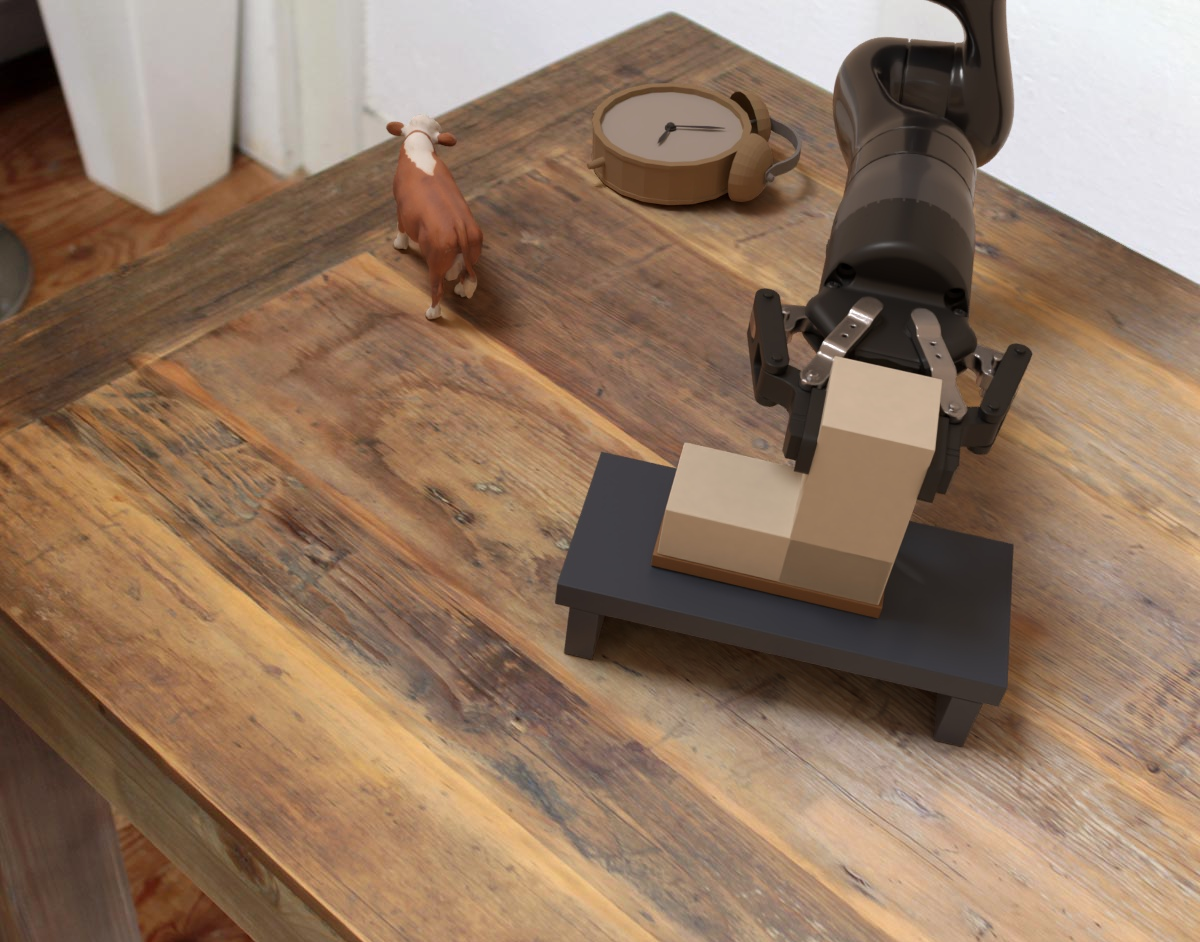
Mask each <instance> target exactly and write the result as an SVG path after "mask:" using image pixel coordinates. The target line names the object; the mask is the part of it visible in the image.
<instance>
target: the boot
mask: <svg viewBox="0 0 1200 942" xmlns="http://www.w3.org/2000/svg"><path fill="white" fill-rule="evenodd" d="M825 390H826V391H827V392H826V398H825V403H824V408H823V414H822V419H821V424H820V430H819V435H818V440H817V446H816V450H815V454H814V457H813V461H812V464H811V468H810V471H809V474H808V475H807V474H803V473H798V472H794V466H791V465H787V464H783V463H778V462H774V461H770V460H769V461H768V460H766V459H761V458H757V457H753V456H748V455H743V454H739V453H734V452H731V451H726V450H721V449H716V448H712V447H708V446H704V445H699V444H695V443H690V442H686V441H685V442H683V446H682V450H681V452H680V457H679V460H678V464H677V467H676V468H677V470H676V474H675V478H674V481H673V485H672V487H671V491H670V495H669V498H668V502H667V505H666V509H665V512H664V516H663V520H662V523H661V527H660V530H659V534H658V537H657V541H656V545H655V548H654V552H653V556H652V561H651V565H652V566H656V567H660V568H664V569H669V570H673V571H677V572H681V573H686V574H690V575H694V576H698V577H703V578H707V579H711V580H716V581H720V582H724V583H728V584H733V585H737V586H741V587H745V588H750V589H754V590H758V591H762V592H767V593H771V594H775V595H780V596H784V597H788V598H792V599H797V600H801V601H805V602H809V603H814V604H818V605H822V606H826V607H831V608H835V609H839V610H844V611H848V612H852V613H856V614H861V615H865V616H869V617H873V618H879V615H880V613H881V610H882V606H883V598H884V590H885V586H886V583H887V581H888V578H889V575H890V572H891V570H892V567H893V564H894V562H895V559H896V556H897V553H898V551H899V548H900V545H901V542H902V540H903V537H904V534H905V531H906V529H907V526H908V523H909V521H911V518H912V515H913V513H914V512H913V511H914V509H915V506H916V503H917V502H918V500H917V497H918V494H919V492H920V489H921V486H922V484H923V481H924V478H925V475H926V473H927V470H928V467H929V466H930V463H931V461H932V458H933V455H934V452H935V447H936V437H937V428H938V418H939V409H940V399H941V390H942V380H941V379H936V378H932V377H927V376H923V375H918V374H914V373H909V372H905V371H900V370H896V369H891V368H887V367H882V366H878V365H873V364H869V363H864V362H860V361H855V360H851V359H846V358H842V357H837V356H835V357H834V361H833V364H832V368H831V372H830V377H829V380H828V383H827V386H826V389H825Z"/></svg>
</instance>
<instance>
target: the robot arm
mask: <svg viewBox="0 0 1200 942" xmlns="http://www.w3.org/2000/svg"><path fill="white" fill-rule="evenodd" d="M925 1H926V2H928V3H931V4H934V5H935V4H936V5H937V6H940V7H941V8H944V9H946V10H947V11H949V12H951V14H953V16H954V17H955V18H956V19H957V20H958V22H959V23H960V25H961V28H962V31H963V32H962V33H963V41H961V42H960V41H959V42H955V41H942V40H932V39H931V40H930V39H917V38H911V39H910V40H909V38H908V37H907V38H906V37H897V36H896V37H894V36H881V37H874V38H870V39H867V40H865V41H863V42H861V43H860V44H858V45H856V47H854V48H853V49H852V50H851V51H850V52H848V55H846V57H845V58H844V60H843V61H842V63H841V65H840V66H839V69H838V71H837V74H836V77H835V81H834V86H833V93H832V94H833V95H832V118H833V124H834V130H835V135H836V139H837V143H838V146H839V148H840V152H841V154H842V157H843V159H844V162H845V164H846V168H847V175H846V180H845V186H844V190H843V195H842V199H841V201H840V203H839V206H838V208H837V210H836V211H835V214H834V218H833V221H832V222H833V223H832V225H831V229H830V234H829V238H828V240H827V242H826V244H825V245H826V246H825V259H824V263H823V268H822V273H821V278H820V282H819V288H818V293H816V294H815V295H814V296H813V297H810V299H809V300H808V302H807V303H806V305H800V304H799V305H798V304H797V305H796V304H784V303H782V301H781V296H780V294H779V293H778V292H777V291H776V290H775V289H772V288H767V287H765V288H759V289H758V290H756V291H755V295H754V299H753V303H752V307H751V312H750V317H749V322H748V326H747V332H746V338H747V347H748V348H747V349H748V356H749V364H750V372H751V380H752V388H753V395H754V400H755V402H756V403H757V404H758V405H760V406H763V407H767V408H771V407H776V406H778V405H779V406H781V407H782V408H783V409H785V410H786V411H787V413H788V420H787V425H786V430H785V435H784V440H783V445H782V449H781V451H782V454H783V456H784V458H785V459H786V460H787V459H788V460H790V461H795V462H794V466H793V467H794V472H798V473H803V474H807V475H808V474H809V471H810V468H811V464H812V461H813V457H814V454H815V450H816V446H817V440H818V435H819V430H820V424H821V419H822V414H823V408H824V403H825V398H826V392H827V391H826V390H825V389H826V386H827V383H828V380H829V377H830V372H831V368H832V364H833V361H834V357H835V356H837V357H842V358H846V359H851V360H855V361H860V362H864V363H869V364H873V365H878V366H882V367H887V368H891V369H896V370H900V371H905V372H909V373H914V374H918V375H923V376H927V377H932V378H936V379H941V380H942V390H941V399H940V409H939V418H938V428H937V437H936V447H935V452H934V455H933V458H932V461H931V463H930V466H929V467H928V470H927V473H926V475H925V478H924V481H923V484H922V486H921V489H920V492H919V494H918V497H917V501H921V502H924V503H930V504H932V503H933V502H934V500H935V497H936V495H937V494H940V495H945V496H946V494H948V492H949V491H950V489H951V487H952V485H953V482H954V480H955V477H956V474H957V472H958V469H959V466H960V458H961V457H960V456H961V448H966V449H967V450H968V451H970V453H973V454H975V455H979V456H985V455H988V454H989V453H990V452H991V451H992V448H993V447H994V444H995V442H996V439H997V437H998V436H999V433H1000V431H1001V428H1002V426H1003V424H1004V423H1005V420H1006V418H1007V416H1008V413H1009V412H1010V410H1011V407H1012V405H1013V403H1014V401H1015V399H1016V397H1017V395H1018V391H1019V389H1020V386H1021V384H1022V381H1023V380H1024V376H1025V375H1026V372H1027V369H1028V366H1029V364H1030V362H1031V359H1032V357H1033V351H1032V350H1031V348H1030V347H1028V346H1027V345H1025V344H1022V343H1010V344H1009V345H1008V346H1007V348H1006V350H1005V352H1002V351H999V350H996V349H993V348H992V347H988V346H985V345H983V344H980V343H978V337H977V335H976V332H975V331H974V330H973V328H972V327H971V325H970V323H969V319H970V306H971V296H972V284H973V272H974V260H975V251H976V250H975V249H976V238H977V237H976V235H977V234H976V221H975V213H974V204H975V194H976V186H977V185H976V183H977V175H978V174H977V169H980V168H981V167H983V166H985V165H986V164H988V163H990V162H991V161H992V160H994V158H996V156H997V155H998V154H999V153H1000V151H1001V150H1002V149H1003V148H1004V146H1005V144H1006V142H1007V141H1008V139H1009V137H1010V135H1011V131H1012V128H1013V124H1014V117H1015V91H1014V89H1015V88H1014V78H1013V70H1012V63H1011V62H1012V61H1011V54H1010V53H1011V52H1010V44H1009V35H1008V33H1009V32H1008V16H1007V0H925ZM797 333H801V334H802V337H803V338H804V340H805V341H806V342H807V343H808V345H809V346H810V348H811V349H812V350H813V351H814V352H815V355H814V356H813V357H812V359H811V360H809V362H808V363H806V364H805V366H804V367H803V368H802V369H799V368H797V367H795V366H793V365H791V364H790V354H789V347H788V345H789V344H790V343H791V342H792V340H793V336H794V335H795V334H797ZM967 370H970V371H971V372H973V373H974V375H975V383H976V385H977V386H978V388H979V391H978V395H979V397H981V398H982V400H981V402H980V404H979V406H967V404H966V401H965V400H964V398H963V396H962V394H961V391H960V388H959V386H958V385H957V377H958V376H960V375H961V374H963V373H965V372H966V371H967Z"/></svg>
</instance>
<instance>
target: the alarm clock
mask: <svg viewBox="0 0 1200 942" xmlns="http://www.w3.org/2000/svg"><path fill="white" fill-rule="evenodd" d="M592 116H593V117H592V119H591V125H592V143H591V145H592V147H591V149H592V150H591V151H592V152H591V154H590V155H591V161H590V162H588V163H587V164H586V167H587V169H588V170H593V172H594V173H595V174H596V175H597V177H598V178H599V180H600V181H601V182H602V183H603V184H604V185H605V186H607V187H609V188H610V189H612V190H613V191H615V192H616V193H618V194H620V195H622V196H625V197H628V198H630V199H634V200H637V201H640V202H642V203H649V204H658V205H665V206H676V205H677V206H679V205H696V204H698V203H703V202H708V201H712V200H716V199H717V198H719V197H721V196H724V195H726V194H727V193H728V198H729V199H730V200H731V201H733V202H738V203H744V202H750V201H752V200H754V199H755V198H757V197H758V196H759V195H760V194H761V193H762V192H763V191H764V189H765V188H766V186H767V184H768V183H772V182H774V181H775V178H776V177H779V176H782V175H784V174H786V173H788V172H790V171H792V170H794V169H795V167H797V166H798V164H799V162H800V160H801V159H800V158H801V150H802V143H803V142H802V139H801V136H800V134H799V132H798V131H797V130H796V129H795V128H793V127H792V126H790V125H789V124H787V123H786V122H783V121H780V120H779V119H776V118H775V117H773V116H772V115H770V112H769V109H768V107H767V105H766V103H765V101H763V99H762V98H761V97H760V96H759V95H757V94H755V93H754V92H752V91H749V90H737V91H734V92H733V93H732V94H731V95H730V97H728V96H726V95H724V94H723V93H721V92H718V91H715V90H712V89H709V88H706V87H702V86H699V85H695V84H687V83H686V84H685V83H677V82H666V83H665V82H661V83H660V82H659V83H646V84H641V85H636V86H631V87H627V88H625V89H622V90H620V91H617V92H616V93H614V94H611V95H609V96H608V97H607V98H606V99H604V100H603V101H602V102H601V103H600V104H598V106H596V109H594V110H593V111H592ZM772 132H773V133H774V134H777V135H779V136H781V137H783V138H784V139H786V140H787V141H788V142H789V143H791V145H792V147H793V148H794V153H793V154H792V155H791V156H789V157H788V158H786V159H784V160H782V161H779V162H777V163H774V157H773V151H772V148H771V146H770V144H769V141H770V138H771V134H772Z"/></svg>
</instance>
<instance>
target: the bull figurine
mask: <svg viewBox="0 0 1200 942" xmlns="http://www.w3.org/2000/svg"><path fill="white" fill-rule="evenodd" d="M385 129H386V131H387V133H389V135H392V136H395V137H404V138H405V139H404V140H403V143H402V145H401V146H400V150H399V154H398V155H399V156H398V160H397V162H398V163H397V166H396V170H395V174H394V176H393V180H392V181H393V182H392V194H393V197H394V200H395V202H396V217H397V224H396V228H397V231H398V233H397V236H396V238H395V239H393V242H392V247H393V248H394V249H395V250H400V249H403V250H407V249H408V247H409V239H410V240H411V241H412V242H414V243H415V244H416V245H417V246H419V249H420V251H421V253H422V255H423V256H424V258H425V261H426V263H427V266H428V269H429V281H430V286H431V289H430V296H431V304H430V306H429V307H428V308H427V310H426V311H425V312H424V316H425V318H427V320H436V319H438V318H440V317H441V315H442V307H441V299H442V297H443V295H444V294H445V279H446V281H450V282H451V281H453V280H457V279H458V277H459V282H457V284H456V285H455V287H454V289H453V292H454V293H455V294H456V295H458V296H460V297H461V298H465V297H466V298H468V299H471V298H472V297H473V296H474V293H475V291H476V290H477V286H478V278H477V275H476V272H475V271H474V269H473V266H475V265H476V264H477V263H478V260H479V259H480V256H481V254H482V252H483V251H482V250H483V243H484V234H483V231H482V229H481V227H480V226H479V224H478V223H477V221H476V220H475V218H474V214H473V212H472V210H471V207H470V205H469V204H468V203H467V200H466V199H465V196H464V195H463V193H462V191H461V189H460V187H459V186H458V184H457V182H456V180H455V178H454V176H453V174H452V172H451V170H450V168H449V167H448V165H446V163H445V162H444V161H443V160H442V159H441V158H440V157H438V155H437V154H438V153H439V151H440V146H443V147H454V146H456V145H457V142H458V140H457V138H456V136H455V135H454V134H452V133H451V132H442V126H441V125H440V123H439V122H438V121H436V120H435V119H434V118H433V117H431V116H429V115H427V114H417V115H415V116H413V117H412V118H410V121H409V123H408V124H407V125H406V124H404V123H403V122H401V121H390V122H388V123H387V124H386V126H385Z"/></svg>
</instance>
